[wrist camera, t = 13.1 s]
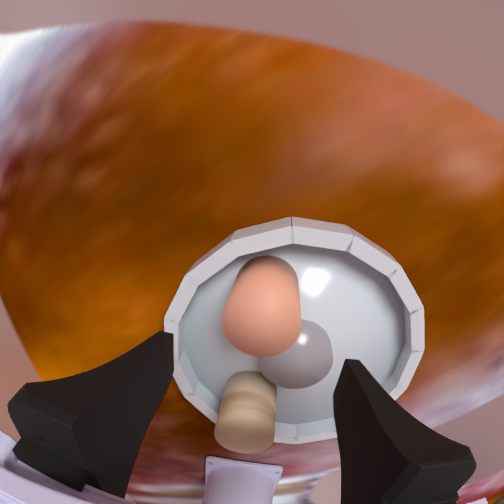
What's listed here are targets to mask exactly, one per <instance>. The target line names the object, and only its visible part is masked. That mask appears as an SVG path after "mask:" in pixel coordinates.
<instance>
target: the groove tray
mask: <svg viewBox="0 0 504 504" xmlns="http://www.w3.org/2000/svg"><path fill="white" fill-rule="evenodd" d="M262 255H271V256H276V257H279V258H281V259H283V260H285V261H286V262H288V263H289V264H290V265H291V266H292V267H293V269H294V270H295V272H296V274H297V277H298V283H299V295H300V308H301V321H302V326H301V332H300V335H299V337H298V339H297V340H296V342H295V343H294V344H293V345H292V346H291V347H290V348H289V349H288V350H286V351H284V352H282V353H280V354H278V355H274V356H269V357H257V356H252V355H249V354H246V353H244V352H242V351H240V350H238V349H237V348H235V347H234V346H233V345H232V344H231V343H230V342H229V340H228V339H227V338H226V336H225V334H224V331H223V328H222V315H223V311H224V309H225V306H226V303H227V301H228V298H229V295H230V293H231V290H232V288H233V285H234V282H235V280H236V277H237V274H238V272H239V270H240V269H241V267H242V266H243V265H244V264H245V263H246V262H247V261H249V260H250V259H252V258H254V257H258V256H262ZM164 332H168V333H173V334H174V372H173V377H174V379H175V381H176V383H177V385H178V387H179V389H180V391H181V392H182V394H183V396H184V397H185V398H186V399H187V400H188V401H189V402H190V403H192V404H193V405H194V406H195V407H196V408H197V409H198V410H199V411H201V412H202V413H203V414H204V415H205V416H206V417H208V418H209V419H210V420H211V421H212V422H213V423H215V424H216V422H217V418H218V414H219V410H220V406H221V402H222V398H223V394H224V390H225V386H226V382H227V380H228V379H229V378H230V377H231V376H232V375H234V374H235V373H238V372H241V371H257V372H261V373H262V374H263V375H264V376H265V377H266V379H268V380H269V381H270V382H272V383H273V384H275V385H276V387H277V400H276V418H275V435H274V442H277V443H287V444H301V443H307V442H314V441H320V440H325V439H331V438H336V437H337V432H336V426H335V420H334V413H333V393H334V390H335V387H336V384H337V381H338V379H339V376H340V373H341V370H342V367H343V364H344V361H345V359H357V360H360V361H361V362H362V364H363V365H364V366H365V367H366V368H367V370H368V371H369V372H370V373H371V375H372V376H373V377H374V378H375V379H376V381H377V382H378V383H379V384H380V385H381V386H382V387H383V389H384V390H385V391H386V392H387V393H388V394H389V395H390V396H391V397H392V398H393V399H394V400H396V399H397V398H398V397H399V396H400V395H401V394H402V393H403V392H404V391H405V390H406V388H407V387H408V385H409V383H410V381H411V379H412V377H413V375H414V373H415V370H416V368H417V366H418V364H419V362H420V359H421V357H422V355H423V352H424V307H423V305H422V303H421V301H420V299H419V297H418V295H417V294H416V292H415V290H414V288H413V286H412V285H411V283H410V281H409V279H408V277H407V276H406V274H405V272H404V270H403V269H402V267H401V266H400V264H399V263H398V262H397V261H396V260H395V259H394V258H393V257H392V256H391V255H390V254H389V253H388V252H387V251H386V250H384V249H383V248H381V247H380V246H378V245H377V244H375V243H373V242H372V241H370V240H369V239H367V238H366V237H364V236H363V235H361V234H360V233H358V232H357V231H355V230H353V229H352V228H350V227H349V226H346V225H343V224H337V223H331V222H324V221H318V220H311V219H305V218H298V217H292V218H291V217H287V218H283V219H279V220H275V221H271V222H267V223H263V224H259V225H255V226H251V227H247V228H243V229H239V230H237V231H235V232H234V233H232V234H231V235H230V236H228V237H227V238H226V239H224V240H223V241H222V242H220V243H219V244H218V245H216V246H215V247H214V248H213V249H211V250H210V251H209V252H207V253H206V254H205V255H203V256H202V257H201V258H200V259H198V260H197V261H196V262H195V263H194V265H193V266H192V267H191V268H190V270H189V271H188V272H187V274H186V275H185V277H184V279H183V281H182V283H181V285H180V287H179V289H178V291H177V293H176V295H175V297H174V299H173V301H172V303H171V305H170V307H169V309H168V311H167V313H166V315H165V317H164Z"/></svg>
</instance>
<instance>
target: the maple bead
mask: <svg viewBox="0 0 504 504" xmlns="http://www.w3.org/2000/svg"><path fill="white" fill-rule="evenodd" d="M276 400H277V387H276V385H275V384H273V383H272V382H270V381H269V380H268V379H266V377H265V376H264V375H263V374H262V373H261V372H257V371H241V372H238V373H235V374H234V375H232V376H231V377H230V378H229V379H228V380H227V382H226V386H225V390H224V394H223V398H222V402H221V406H220V410H219V414H218V418H217V422H216V426H215V430H214V436H215V439H216V440H217V442H218V443H219V444H220V445H221V446H223V447H224V448H226V449H228V450H230V451H233V452H237V453H243V454H254V453H259V452H262V451H265V450H267V449H268V448H269V447H270V446H271V445H272V444H273V442H274V435H275V418H276Z"/></svg>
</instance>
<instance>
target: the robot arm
mask: <svg viewBox="0 0 504 504" xmlns="http://www.w3.org/2000/svg"><path fill="white" fill-rule="evenodd" d="M173 372H174V334H173V333H168V332H163V331H159V332H157V333H156V334H154V335H153V336H151V337H150V338H148V339H147V340H145V341H144V342H142V343H141V344H139V345H138V346H136V347H135V348H133V349H131V350H130V351H128V352H127V353H125V354H123V355H121V356H119V357H118V358H116V359H114V360H112V361H110V362H108V363H106V364H104V365H102V366H99V367H97V368H95V369H92V370H89V371H86V372H83V373H80V374H77V375H74V376H70V377H66V378H62V379H56V380H51V381H43V382H33V383H26V384H25V385H24V386H23V387H22V388H21V389H20V390H19V391H18V392H17V393H16V394H15V395H14V397H13V398H12V399H11V400H10V401H9V403H8V412H9V414H10V417H11V419H12V421H13V423H14V425H15V427H16V429H17V431H18V432H19V434H20V436H21V439H20V440H19V441H18V443H17V442H16V441H15V440H14V439H13V438H12V437H11V436H9V435H8V434H6V433H5V432H3V431H1V430H0V504H138V503H135V502H131V501H128V500H125V499H124V498H125V494H126V490H127V486H128V483H129V479H130V476H131V473H132V469H133V466H134V463H135V460H136V457H137V454H138V451H139V448H140V446H141V443H142V440H143V437H144V435H145V432H146V430H147V428H148V426H149V424H150V422H151V420H152V418H153V416H154V415H155V413H156V411H157V409H158V407H159V405H160V403H161V401H162V399H163V397H164V395H165V393H166V391H167V389H168V387H169V384H170V381H171V378H172V375H173ZM333 413H334V420H335V426H336V432H337V438H338V444H339V451H340V458H341V504H456V503H455V501H457V500H458V499H459V496H458V493H457V491H458V490H459V489H460V488H461V487H462V486H463V485H464V484H465V483H466V482H467V480H468V479H469V478H470V477H471V476H472V474H473V473H474V471H475V469H476V462H475V459H474V457H473V455H472V453H471V450H470V449H469V447H467V446H465V445H462V444H460V443H457V442H455V441H452V440H450V439H448V438H446V437H444V436H442V435H440V434H439V433H437V432H435V431H433V430H432V429H430V428H429V427H427V426H426V425H424V424H423V423H421V422H420V421H418V420H417V419H416V418H414V417H413V416H412V415H411V414H409V413H408V412H407V411H406V410H404V409H403V408H402V407H401V406H400V405H399V404H398V403H397V402H396V401H395V400H394V399H393V398H392V397H391V396H390V395H389V394H388V393H387V392H386V391H385V390H384V389H383V387H382V386H381V385H380V384H379V383H378V382H377V381H376V379H375V378H374V377H373V376H372V375H371V373H370V372H369V371H368V370H367V368H366V367H365V366H364V365H363V364H362V362H361V361H360V360H357V359H345V361H344V364H343V367H342V370H341V373H340V376H339V379H338V381H337V384H336V387H335V390H334V393H333ZM282 471H283V467H282V466H278V465H268V464H259V463H251V462H244V461H237V460H231V459H225V458H219V457H214V456H207V458H206V471H205V494H204V498H203V502H202V504H272V499H273V494H274V492H275V489H276V487H277V484H278V482H279V479H280V477H281V474H282ZM465 504H488V503H487V501H486V498H482V499H478V500H475V501H472V502H468V503H465Z"/></svg>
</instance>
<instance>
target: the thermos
mask: <svg viewBox="0 0 504 504" xmlns="http://www.w3.org/2000/svg"><path fill="white" fill-rule="evenodd" d="M494 504H504V496H503V497H501V498H500V499H499V500H497V501H496V502H495V503H494Z"/></svg>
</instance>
